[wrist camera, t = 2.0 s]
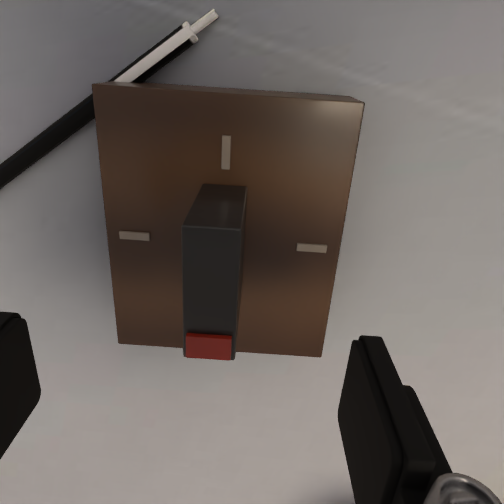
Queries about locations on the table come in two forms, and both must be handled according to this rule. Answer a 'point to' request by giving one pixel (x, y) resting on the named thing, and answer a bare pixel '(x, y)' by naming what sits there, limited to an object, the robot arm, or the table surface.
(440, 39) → the table surface
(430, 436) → the robot arm
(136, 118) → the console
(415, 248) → the table surface
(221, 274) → the dial knob
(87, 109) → the pen
